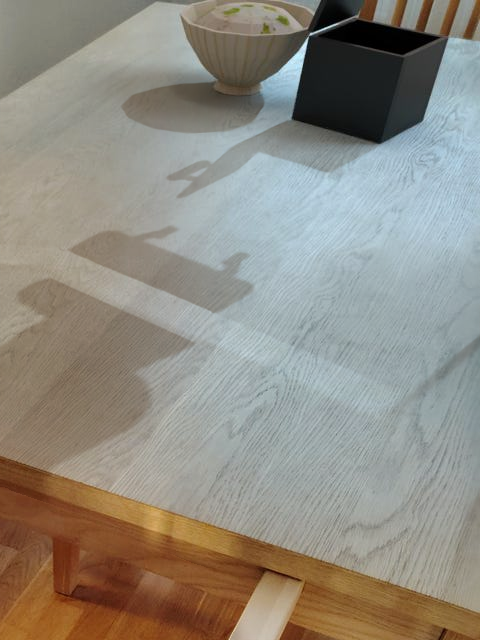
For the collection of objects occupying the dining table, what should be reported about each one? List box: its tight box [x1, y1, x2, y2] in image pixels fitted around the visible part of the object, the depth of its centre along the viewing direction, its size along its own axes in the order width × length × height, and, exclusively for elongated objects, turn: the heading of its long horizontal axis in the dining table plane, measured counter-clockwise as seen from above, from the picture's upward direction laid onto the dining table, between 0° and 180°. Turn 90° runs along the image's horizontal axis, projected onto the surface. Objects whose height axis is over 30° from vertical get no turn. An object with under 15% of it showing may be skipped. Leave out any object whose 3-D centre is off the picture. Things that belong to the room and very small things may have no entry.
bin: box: [291, 17, 449, 144], centre depth 118 cm, size 13×11×10 cm
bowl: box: [179, 0, 315, 97], centre depth 127 cm, size 19×19×10 cm
